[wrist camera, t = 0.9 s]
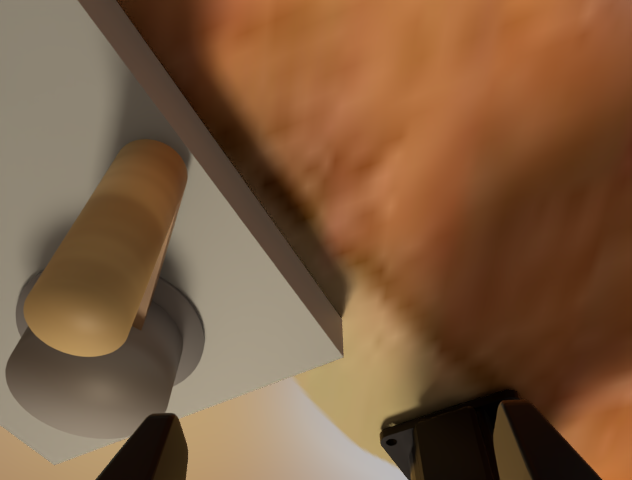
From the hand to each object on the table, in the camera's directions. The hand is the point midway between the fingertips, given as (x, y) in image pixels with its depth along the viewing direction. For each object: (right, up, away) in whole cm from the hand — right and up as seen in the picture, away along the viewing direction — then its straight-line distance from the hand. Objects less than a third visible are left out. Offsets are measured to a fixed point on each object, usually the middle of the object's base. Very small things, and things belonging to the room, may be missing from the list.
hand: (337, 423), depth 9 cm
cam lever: (-6, +1, +10) cm, 12 cm away
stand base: (-9, +3, +12) cm, 15 cm away
